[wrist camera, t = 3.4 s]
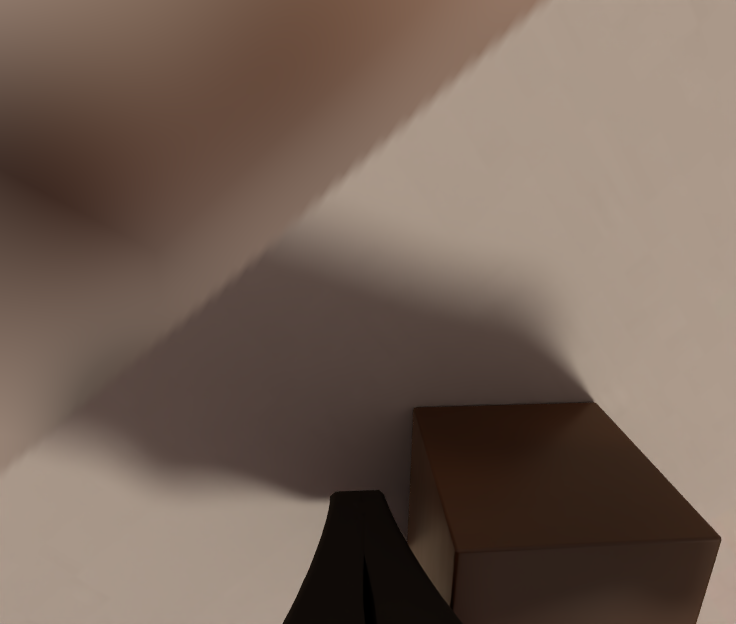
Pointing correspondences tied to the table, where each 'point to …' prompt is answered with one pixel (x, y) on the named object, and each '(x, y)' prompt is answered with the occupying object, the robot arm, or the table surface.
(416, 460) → the walnut block
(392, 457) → the table surface
